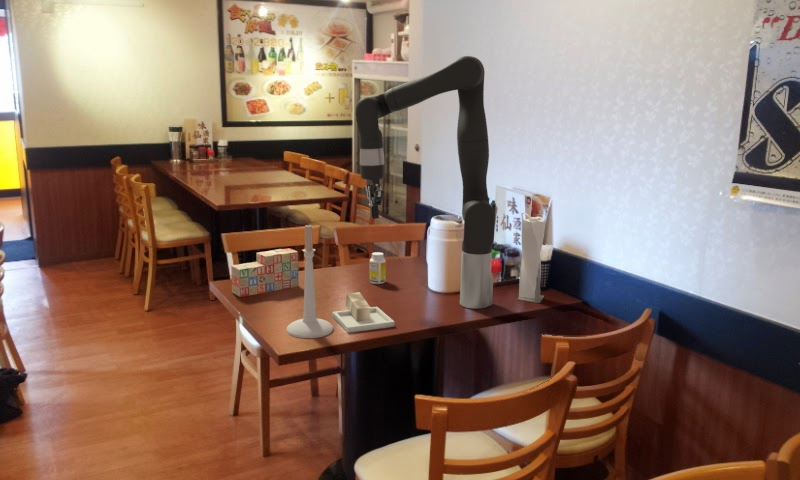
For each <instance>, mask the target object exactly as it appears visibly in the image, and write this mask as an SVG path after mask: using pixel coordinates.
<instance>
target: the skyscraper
mask: <svg viewBox="0 0 800 480" xmlns="http://www.w3.org/2000/svg"><path fill="white" fill-rule="evenodd" d="M520 213H521V253H522V255H521V262H520V270H519V281H518V282H519V285H518V288H519V289H518V298H517V301H520V302H528V303H535V304H540V303H541V302H542V301H543V299H544V297H545V296H544V295H541V292H542V291H541V282H542V281H541V280H542V275H541V274H542V263H541V262H542V261H541V252H542V248H543V242H544V239H545V238H544V236H545V231H546V230H545V229H546V219H544V218H543V217H541V216H535V217H534V216H530V215H529V214H528V213H527V212H524V211H522V212H520ZM524 215H526V216H527V217H528V218H527V219H526V218H525V219H524Z"/></svg>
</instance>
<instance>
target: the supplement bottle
mask: <svg viewBox="0 0 800 480" xmlns="http://www.w3.org/2000/svg"><path fill="white" fill-rule="evenodd" d="M386 264H387V262H386V258H385V257H384V253H383V252H378V251H377V252H372V253H371V258H370V259H369V282H370V283H371V284H374V285H380V284H381V285H383V284H384V283H386V278H387V277H386V276H387V275H386V274H387V273H386V272H387V271H386V270H387V269H386V268H387V265H386Z"/></svg>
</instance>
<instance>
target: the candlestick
mask: <svg viewBox="0 0 800 480" xmlns="http://www.w3.org/2000/svg"><path fill="white" fill-rule="evenodd" d="M304 243H305V244H304V248H303V249H301V251H303V252H302V253H304V254H303V256H304V258H305V263H304V264H305V266H304V268H305V269H304V270H305V271H304V292H303V317H302V318H299V319H296V320H294V321H292V322H291V323H289V324H288V326H287V327H286V333H287V335H290V336H292V337H295V338H299V339H316V338H322V337H326V336H328V335H330V334H331V333H333V331H334V326H333V324H332V323H331V322H329V321H327V320H325V319H323V318H317V309H316V297H315V296H316V295H315V279H314V277H315V276H314V262H313V257H315V254H314V253H315V251H316V248H313V225H311V224H307V225H304Z"/></svg>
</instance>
